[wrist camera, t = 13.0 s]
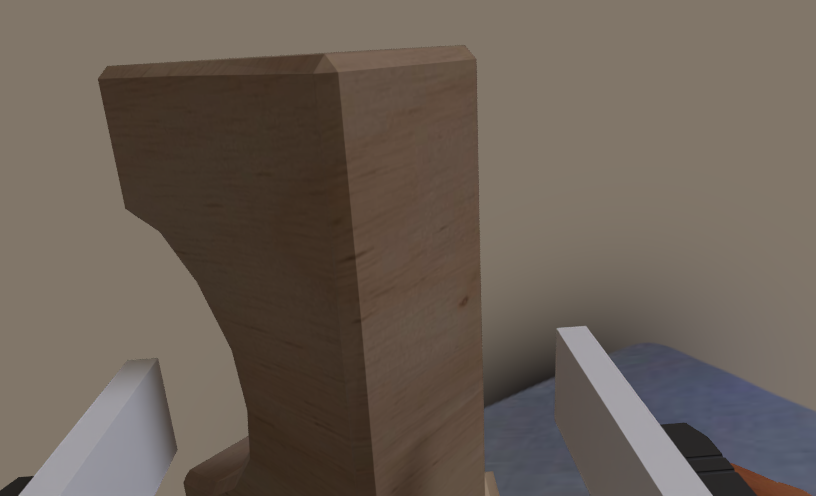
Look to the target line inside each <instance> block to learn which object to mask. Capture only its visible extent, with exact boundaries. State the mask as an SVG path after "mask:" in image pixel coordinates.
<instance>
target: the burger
mask: <svg viewBox="0 0 816 496" xmlns="http://www.w3.org/2000/svg"><path fill="white" fill-rule="evenodd" d="M730 464H731V465H732V466H733V467H734V470H735V472H738V473H739V474H740V476H741V477H742V478H743V479H744V480H745V482H746V483H747V484H748V485H749V486H750V487H751V489H752V490H753V491H754V492H755V493H756V494H757V496H812V495H810V494H808V493H807V492H805V491H803V490H801V489H798V488H796V487H793V486H790V485H787V484H784V483H780V482H778V483H777V482H775V481H773V480H770V479H768V478H766V477H764V476H761V475H759V474H757V473H754V472H752V471H750V470H747V469H745V468H742V467H740V466H737V465H735V464H732V463H730Z"/></svg>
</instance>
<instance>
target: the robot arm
mask: <svg viewBox="0 0 816 496" xmlns="http://www.w3.org/2000/svg"><path fill="white" fill-rule="evenodd" d="M555 422H556V424H557V426H558V428H559V430H560V432H561V434H562V437H563V439H564V441H565V443H566V445H567V447H568V449H569V451H570V453H571V456H572V458H573V460H574V462H575V464H576V466H577V468H578V470H579V472H580V474H581V477H582V479H583V481H584V483H585V485H586V487H587V489H588V491H589V493H590V496H757V494H756V493H755V492H754V491H753V490H752V489H751V487H750V486H749V485H748V484H747V483H746V482H745V480H744V479H743V478H742V477H741V476H740V474H739V473H738V472H735V470H734V467H733V466H732V465H731V464H730V463H729V461H728V460H727V459H726V458H723V456H722V453H721V452H720V451H719V450H718V449H717V447H716V446H715V445H714V444H713V443H712V441H711V440H710V439H709V438H708V437H707V436H705V435H704V434H702V433H701V432H699V431H698V430H696V429H694V428H693V427H691V426H690V425H688V424H687V423H675V424H663V425H660V424H659V423H658V422H657V420H656V419H655V418H654V416H653V415H652V414H651V412H650V411H649V410H648V408H647V407H646V406H645V404H644V403H643V402H642V400H641V399H640V398H639V396H638V395H637V394H636V392H635V391H634V390H633V388H632V387H631V386H630V384H629V383H628V382H627V380H626V379H625V378H624V376H623V375H622V374H621V372H620V371H619V370H618V368H617V367H616V366H615V364H614V363H613V362H612V360H611V359H610V358H609V356H608V355H607V354H606V352H605V351H604V350H603V348H602V347H601V346H600V344H599V343H598V342H597V340H596V339H595V338H594V337H593V335H592V334H591V332H590V331H589V330H588V328H587V327H586V326H580V327H566V328H556V376H555ZM176 452H177V445H176V441H175V436H174V432H173V427H172V422H171V417H170V412H169V408H168V403H167V398H166V394H165V389H164V384H163V379H162V375H161V371H160V365H159V361H158V358H152V359H139V360H127V362H126V363H125V364H124V365H123V367H122V368H121V369H120V370H119V371H118V373H117V374H116V375H115V376H114V378H113V379H112V380H111V381H110V383H109V384H108V385H107V387H106V388H105V389H104V390H103V391H102V393H101V394H100V395H99V396H98V398H97V399H96V400H95V401H94V403H93V404H92V405H91V407H90V408H89V409H88V410H87V411H86V412H85V414H84V415H83V416H82V417H81V419H80V420H79V421H78V422H77V424H76V425H75V426H74V427H73V429H72V430H71V431H70V432H69V434H68V435H67V436H66V437H65V439H64V440H63V441H62V442H61V444H60V445H59V446H58V447H57V449H56V450H55V451H54V452H53V453H52V455H51V456H50V457H49V458H48V460H47V461H46V462H45V463H44V465H43V466H42V467H41V468H40V470H39V471H38V472H37V473H36V475H35V476H30V477H18V478H17V479H16V480H14V481H13V482H12V483H10V484H9V485H7V486H6V487H5V488H3V489H2V490H1V491H0V496H154V495H155V493H156V491H157V489H158V488H159V486H160V483H161V481H162V480H163V478H164V475H165V474H166V472H167V470H168V467H169V466H170V464H171V461H172V460H173V457H174V455H175V454H176Z"/></svg>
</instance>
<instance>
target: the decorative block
mask: <svg viewBox="0 0 816 496" xmlns="http://www.w3.org/2000/svg"><path fill="white" fill-rule="evenodd" d="M476 69H477V66H476V58H475V57H474V56H473V54H472V53H471V52H470V51H469V50H468V48H467V47H466V46H465V45H455V46H437V47H421V48H402V49H385V50H370V51H369V50H368V51H352V52H351V51H350V52H333V53H315V54H298V55H280V56H263V57H245V58H229V59H214V60H198V61H181V62H166V63H150V64H134V65H117V66H107V67H106V69H105V70H104V71H103V73H102V74H101V76H100V77H99V78H98V81H99V86H100V91H101V96H102V100H103V105H104V110H105V114H106V119H107V124H108V129H109V133H110V138H111V143H112V148H113V152H114V157H115V162H116V167H117V171H118V176H119V181H120V185H121V189H122V194H123V199H124V204H125V209H127V210H128V211H130V212H131V213H133V214H134V215H135V216H137V217H138V218H140V219H141V220H143V221H145V222H146V223H148V224H149V225H150V226H152V227H153V228H155V229H157V230H158V231H159V232H160V233H161V234H162V235H163V237H164V238H165V239H166V241H167V242H168V244H169V245H170V246H171V248H172V249H173V250H174V252H175V253H176V254H177V256H178V257H179V258H180V260H181V261H182V263H183V264H184V265H185V266H186V268H187V269H188V271H189V272H190V273H191V275H192V276H193V277H194V279H195V280H196V281H197V283H198V285H199V287H200V289H201V291H202V293H203V295H204V297H205V299H206V301H207V303H208V305H209V307H210V308H211V310H212V312H213V314H214V316H215V318H216V320H217V322H218V324H219V326H220V328H221V330H222V332H223V334H224V336H225V338H226V340H227V342H228V344H229V346H230V348H231V350H232V353H233V357H234V361H235V365H236V368H237V372H238V376H239V380H240V384H241V388H242V391H243V395H244V399H245V403H246V407H247V412H248V431H249V432H248V433H249V436H247V437H246V438H244V439H242V440H241V441H239V442H237V443H235V444H234V445H232V446H230V447H228V448H227V449H225V450H223V451H222V452H220V453H218V454H217V455H215V456H213V457H212V458H210V459H208V460H206V461H205V462H203V463H201V464H199V465H198V466H196V467H194V468H192V469H191V470H190V471H189V472H188V474H187V475H186V478H185V481H184V487H185V492H186V496H485V466H484V409H483V361H482V322H481V320H482V319H481V276H480V230H479V178H478V177H479V175H478V125H477V122H478V121H477V70H476Z"/></svg>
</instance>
